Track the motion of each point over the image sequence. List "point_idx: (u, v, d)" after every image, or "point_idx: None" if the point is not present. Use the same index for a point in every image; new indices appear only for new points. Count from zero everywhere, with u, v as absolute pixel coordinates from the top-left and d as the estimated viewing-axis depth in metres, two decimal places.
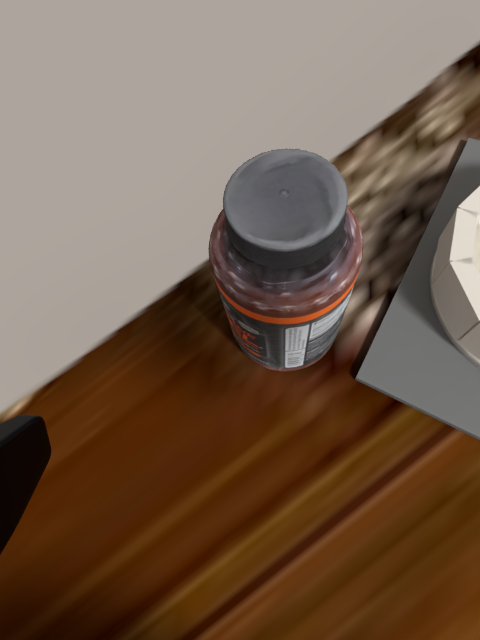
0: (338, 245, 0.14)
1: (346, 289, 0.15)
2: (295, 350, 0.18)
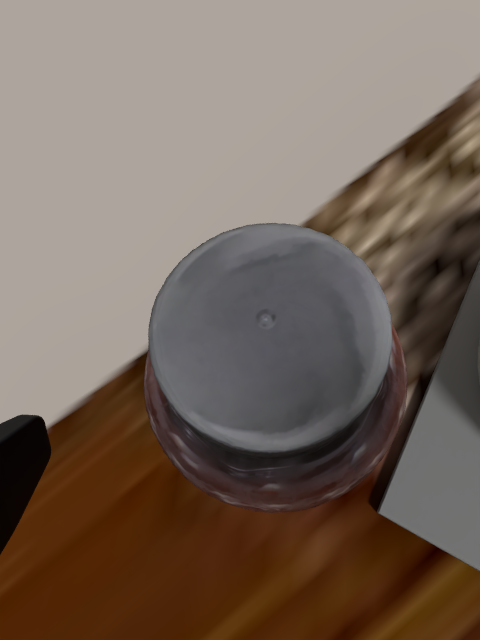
0: None
1: None
2: None
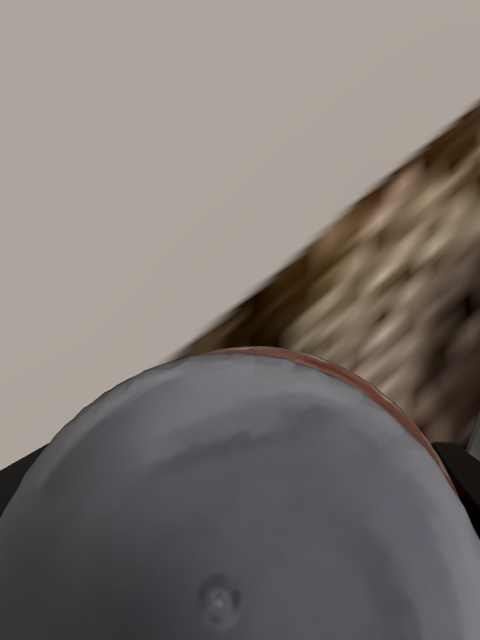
0: None
1: None
2: None
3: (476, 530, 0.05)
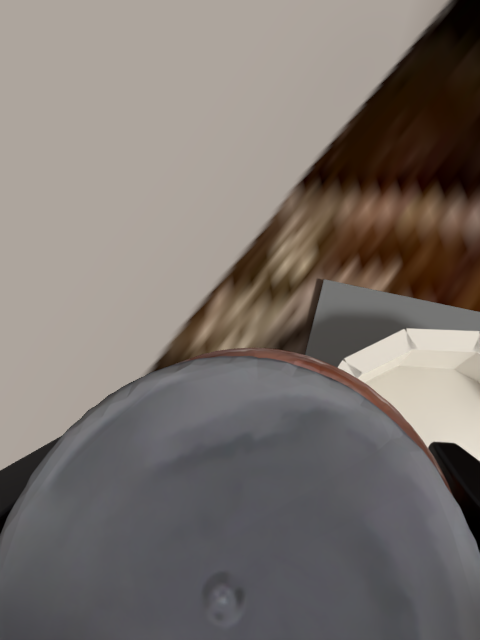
0: None
1: None
2: None
3: (476, 530, 0.05)
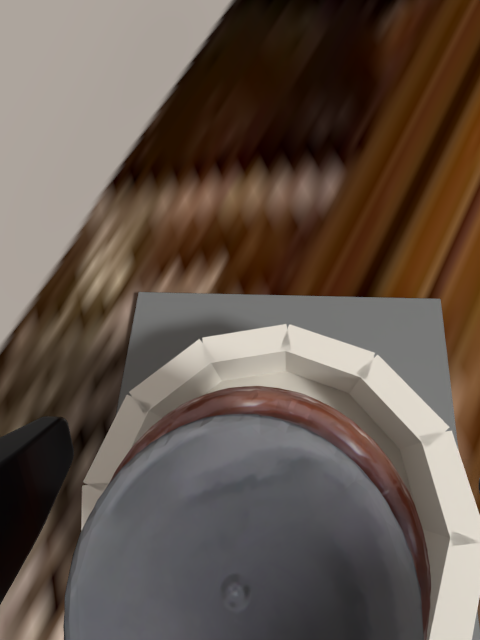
0: None
1: None
2: None
3: None
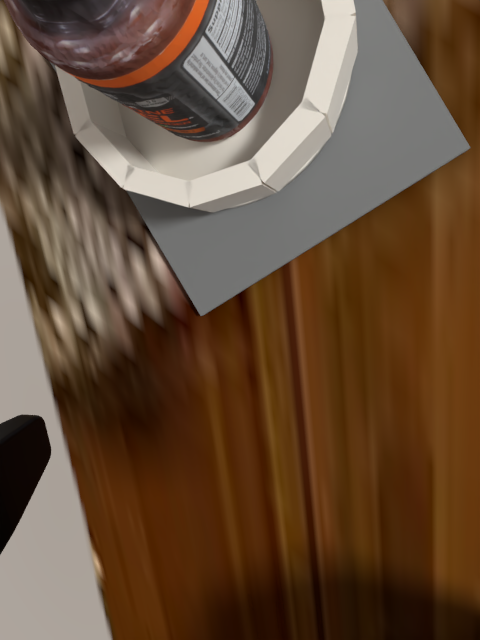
0: None
1: None
2: (226, 89, 0.14)
3: None
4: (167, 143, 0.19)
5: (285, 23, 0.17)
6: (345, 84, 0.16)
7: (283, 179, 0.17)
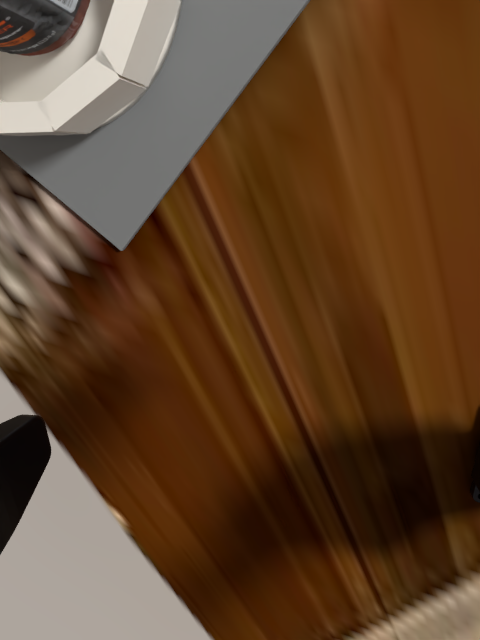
0: None
1: None
2: None
3: None
4: (9, 68, 0.17)
5: None
6: None
7: (146, 69, 0.15)
